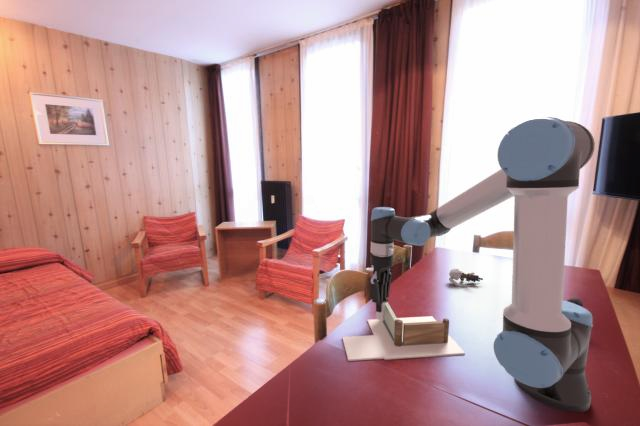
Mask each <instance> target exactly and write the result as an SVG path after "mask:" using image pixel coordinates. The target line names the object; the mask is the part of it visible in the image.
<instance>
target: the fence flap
mask: <svg viewBox="0 0 640 426" xmlns="http://www.w3.org/2000/svg"><path fill="white" fill-rule="evenodd" d="M397 318H398V317H397V316H396V314H395V312H394V310H393V309H392V308H391V305H390V303H389V301H388V302H386V301H385V322H386V324H387V326H388V328H389V330H390V332H391V334H392V336H393V338H394V329H395V320H397Z"/></svg>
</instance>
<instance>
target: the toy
mask: <svg viewBox="0 0 640 426" xmlns="http://www.w3.org/2000/svg"><path fill="white" fill-rule="evenodd" d="M475 274H476V273H475V272H473V271H471V272H468V273H467V274H466V273H465V272H463V271H461V270H460V269H459V268H452V269H450V271H449V273H448V276H449V278H448V280H449V281H448V282H450V283H452V284H453V285H454V286H455V287H457V288H469V287H474V286H475V284H469V285H468V284H467V285H465V284H461V283H458V282H456V281H458V280H460V281H463V282H464V281H466V282H473V283H475V282H481V281H483V280H484V278H482V277H480V276H479V275H475Z"/></svg>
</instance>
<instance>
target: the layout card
mask: <svg viewBox="0 0 640 426" xmlns="http://www.w3.org/2000/svg"><path fill="white" fill-rule="evenodd" d="M397 319H399V320H402V321H403V323H415V322H432V321H437V320H436V319H435V318H434V317H433V315H431V316H411V317H397ZM366 322H367V323H368V326H369V328H370V330H371V333H372V334H371V335H370V334H369V335H357V336H356V335H354V336H353V335H352V336H342V338H341V339H342V343H343V345H344V350H345V354H346V359H347V361H348V362H350V361H351V362H353V361H355V362H356V361H366V360H368V361H369V360H383V359H384V360H385V361H388V360H400V359H401V360H402V359H415V358H429V357H445V356H447V357H449V356H461V355H465V354H466V353H465V351H464V350H463V349H462V348H461V347H460V345H459V344H458V343H457V342H456V341H455V340H454V338H452V337H451V336H450V334H449V333H448V343H444V342H440V343H424V344H409V345H404V344H403V333H402V346H400V347H398V346H395V345H394V338H393V336H392V334H391V332H390V330H389V328H388V326H387V324H386V322H385V320H384V321H380V320H378V319H376V318H373V319H367V321H366Z"/></svg>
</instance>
